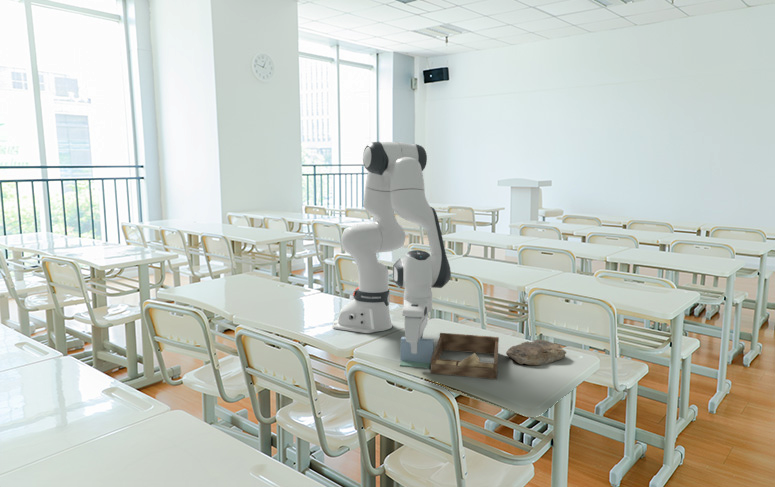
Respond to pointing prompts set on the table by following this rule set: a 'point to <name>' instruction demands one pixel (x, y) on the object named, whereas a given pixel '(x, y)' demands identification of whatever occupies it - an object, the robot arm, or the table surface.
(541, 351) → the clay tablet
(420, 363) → the pad
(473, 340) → the rack
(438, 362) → the offcut
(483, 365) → the offcut
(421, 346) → the sheet
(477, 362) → the offcut top
